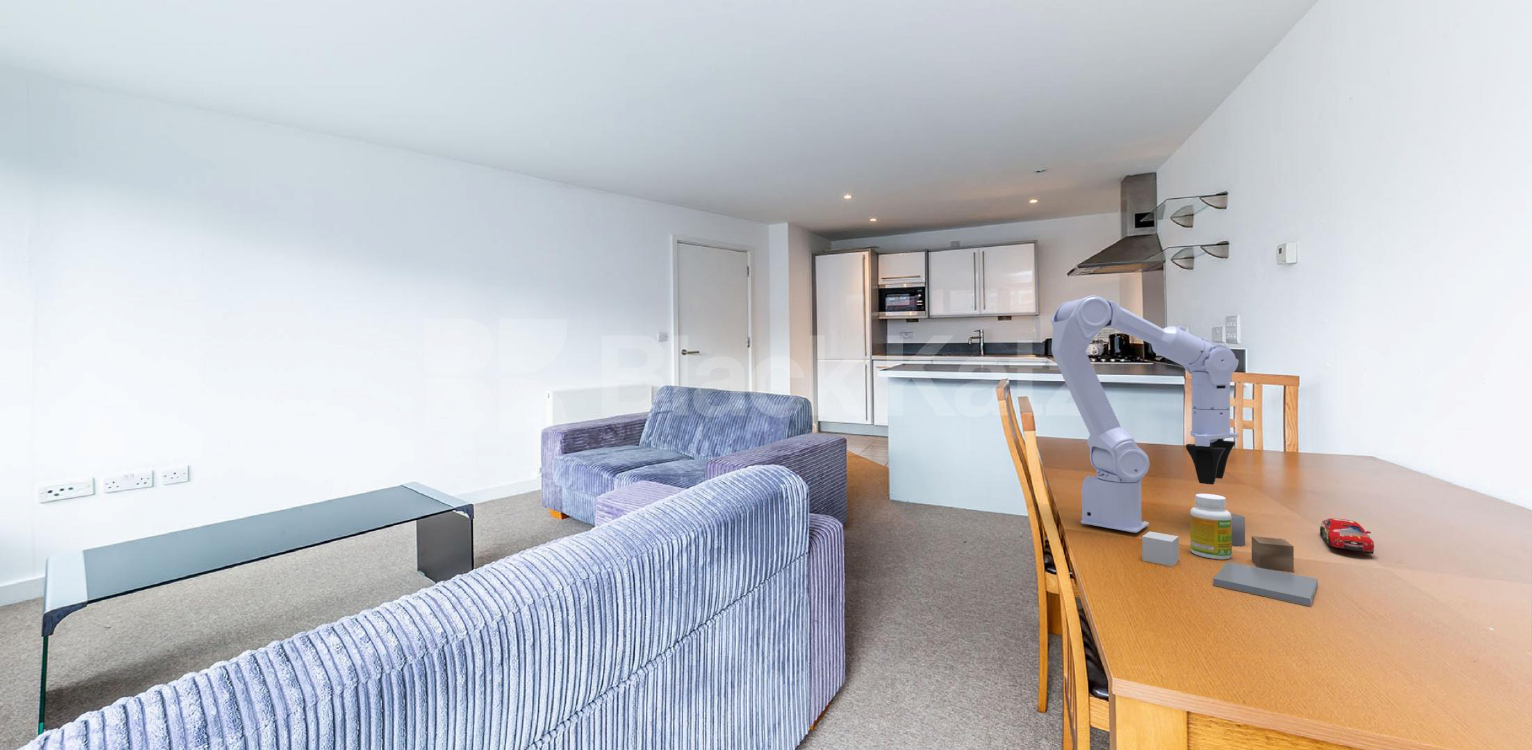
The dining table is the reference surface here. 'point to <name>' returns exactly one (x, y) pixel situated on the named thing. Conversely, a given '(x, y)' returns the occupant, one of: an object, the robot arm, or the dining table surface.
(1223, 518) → the supplement bottle
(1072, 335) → the robot arm
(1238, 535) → the slate grey block
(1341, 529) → the race car
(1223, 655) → the dining table surface
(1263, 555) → the walnut block
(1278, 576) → the slate tile
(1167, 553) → the grey block
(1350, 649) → the dining table surface
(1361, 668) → the dining table surface
